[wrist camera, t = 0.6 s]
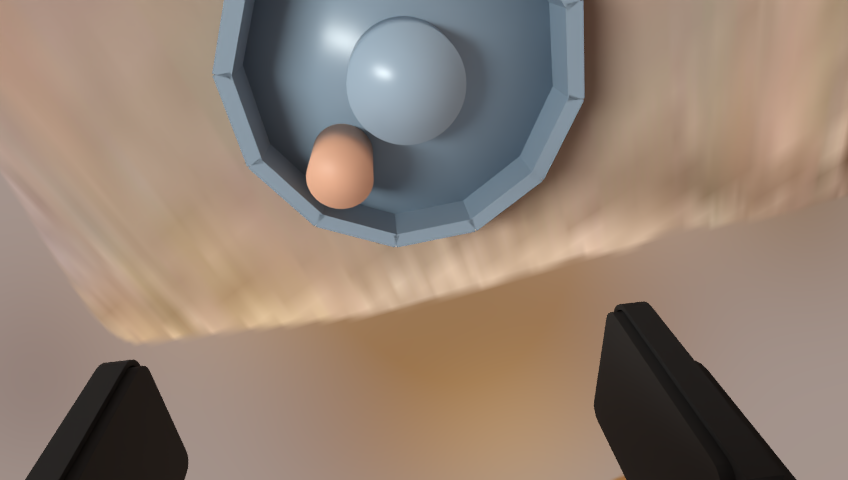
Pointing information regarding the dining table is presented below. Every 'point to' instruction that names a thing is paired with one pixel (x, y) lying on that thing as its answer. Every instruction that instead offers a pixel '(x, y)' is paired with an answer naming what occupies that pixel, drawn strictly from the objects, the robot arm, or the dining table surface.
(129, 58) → the dining table surface
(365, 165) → the bead
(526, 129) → the tray
